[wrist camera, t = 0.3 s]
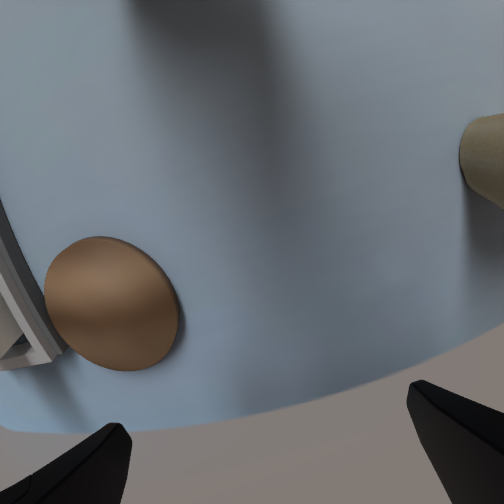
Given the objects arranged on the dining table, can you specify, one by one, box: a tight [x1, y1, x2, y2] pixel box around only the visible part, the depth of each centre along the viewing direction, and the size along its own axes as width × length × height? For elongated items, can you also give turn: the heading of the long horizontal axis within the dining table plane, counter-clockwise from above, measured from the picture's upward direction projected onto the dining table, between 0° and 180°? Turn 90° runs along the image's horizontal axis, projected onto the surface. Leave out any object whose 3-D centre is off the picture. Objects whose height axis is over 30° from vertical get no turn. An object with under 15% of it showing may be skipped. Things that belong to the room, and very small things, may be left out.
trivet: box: [44, 236, 180, 371], centre depth 22 cm, size 11×11×1 cm
